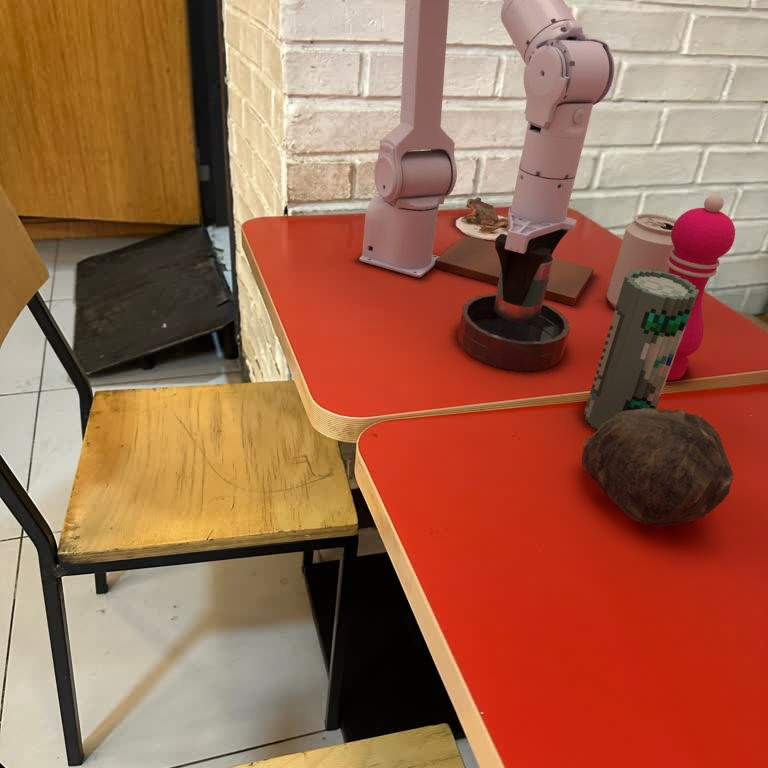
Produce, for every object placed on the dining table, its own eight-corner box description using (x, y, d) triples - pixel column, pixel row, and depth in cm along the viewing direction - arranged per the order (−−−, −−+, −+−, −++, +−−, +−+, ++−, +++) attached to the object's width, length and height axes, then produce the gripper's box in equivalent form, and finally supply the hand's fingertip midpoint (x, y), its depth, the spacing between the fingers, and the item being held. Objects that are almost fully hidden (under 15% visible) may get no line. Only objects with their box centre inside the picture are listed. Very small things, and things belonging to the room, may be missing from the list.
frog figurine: (438, 223, 113) (441, 200, 111) (485, 211, 121) (489, 189, 119) (492, 246, 107) (496, 222, 105) (538, 232, 114) (543, 210, 112)
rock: (591, 433, 65) (633, 352, 59) (708, 493, 62) (766, 415, 55) (552, 499, 59) (593, 416, 52) (680, 571, 55) (743, 493, 48)
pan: (442, 350, 78) (446, 322, 76) (478, 310, 88) (483, 284, 86) (546, 383, 74) (554, 355, 72) (573, 337, 84) (580, 311, 82)
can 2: (638, 447, 66) (690, 305, 58) (577, 423, 68) (618, 284, 60) (653, 418, 70) (703, 282, 62) (595, 396, 73) (636, 263, 65)
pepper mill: (687, 359, 82) (751, 192, 71) (689, 389, 76) (759, 212, 65) (624, 345, 83) (678, 179, 72) (622, 373, 77) (679, 197, 67)
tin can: (486, 314, 78) (498, 256, 74) (501, 297, 82) (513, 241, 78) (532, 327, 76) (546, 268, 72) (545, 310, 80) (559, 253, 76)
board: (433, 267, 98) (435, 259, 97) (463, 242, 107) (465, 235, 106) (573, 306, 91) (575, 297, 91) (592, 276, 100) (594, 268, 100)
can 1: (665, 323, 89) (696, 235, 83) (606, 314, 90) (632, 225, 84) (658, 299, 95) (686, 215, 89) (602, 290, 96) (627, 206, 90)
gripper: (569, 197, 63) (537, 328, 70) (601, 164, 74) (570, 280, 82) (496, 180, 65) (472, 309, 73) (537, 151, 77) (513, 265, 84)
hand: (520, 293), depth 77 cm, fingers closed on tin can, 5 cm apart
